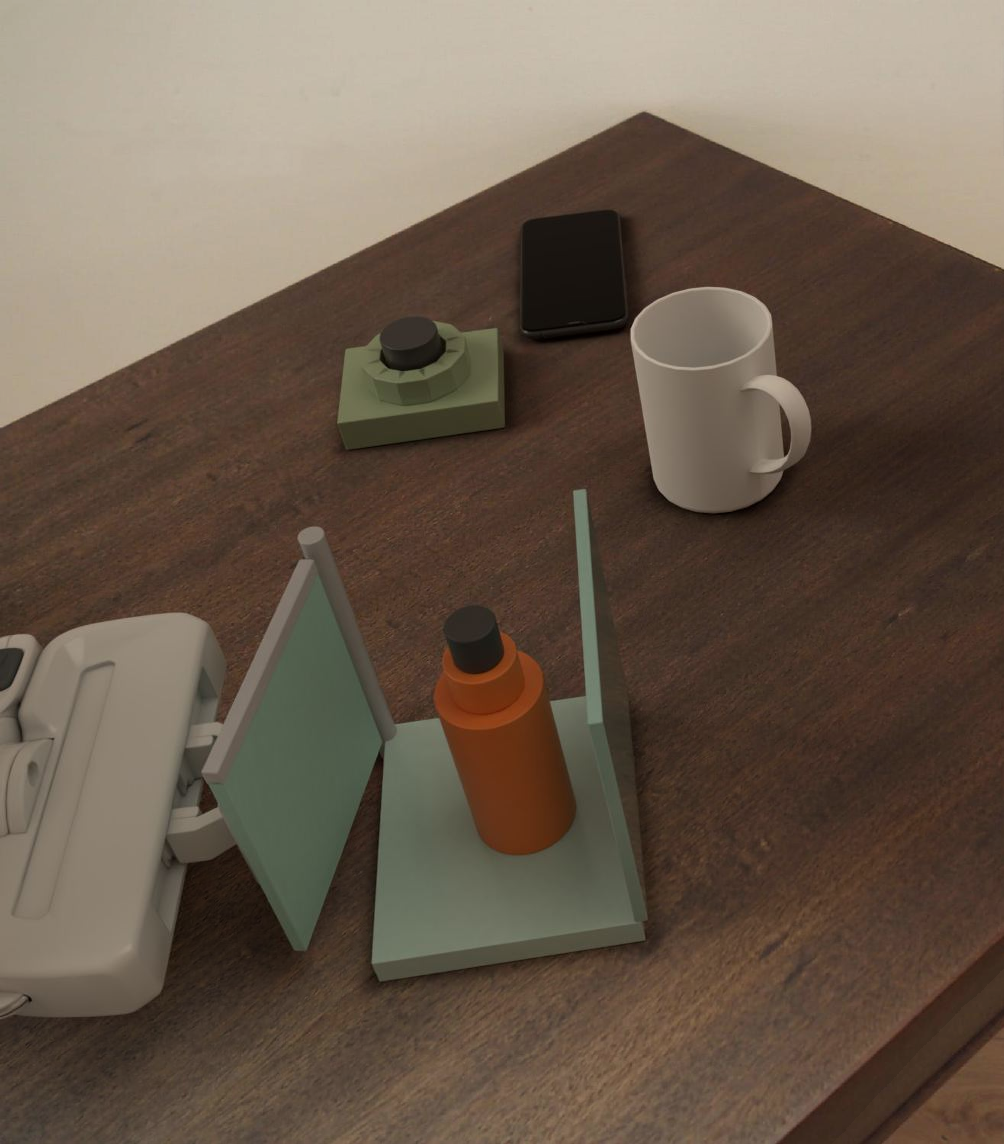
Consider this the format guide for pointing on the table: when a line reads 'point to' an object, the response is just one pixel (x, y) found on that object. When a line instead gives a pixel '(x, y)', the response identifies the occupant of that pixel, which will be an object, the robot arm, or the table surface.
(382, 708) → the shower
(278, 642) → the shower door
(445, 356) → the control block
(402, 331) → the button
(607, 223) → the smartphone
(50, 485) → the table surface
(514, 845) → the shampoo bottle
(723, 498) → the mug
